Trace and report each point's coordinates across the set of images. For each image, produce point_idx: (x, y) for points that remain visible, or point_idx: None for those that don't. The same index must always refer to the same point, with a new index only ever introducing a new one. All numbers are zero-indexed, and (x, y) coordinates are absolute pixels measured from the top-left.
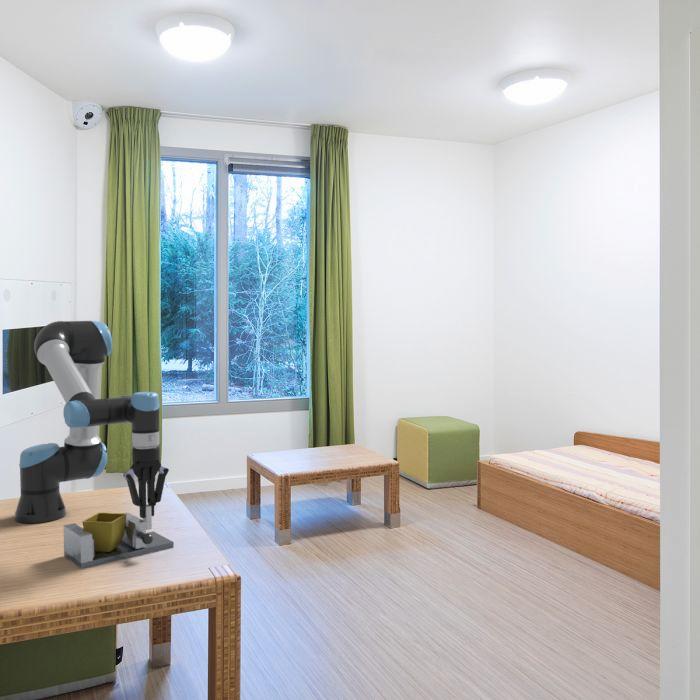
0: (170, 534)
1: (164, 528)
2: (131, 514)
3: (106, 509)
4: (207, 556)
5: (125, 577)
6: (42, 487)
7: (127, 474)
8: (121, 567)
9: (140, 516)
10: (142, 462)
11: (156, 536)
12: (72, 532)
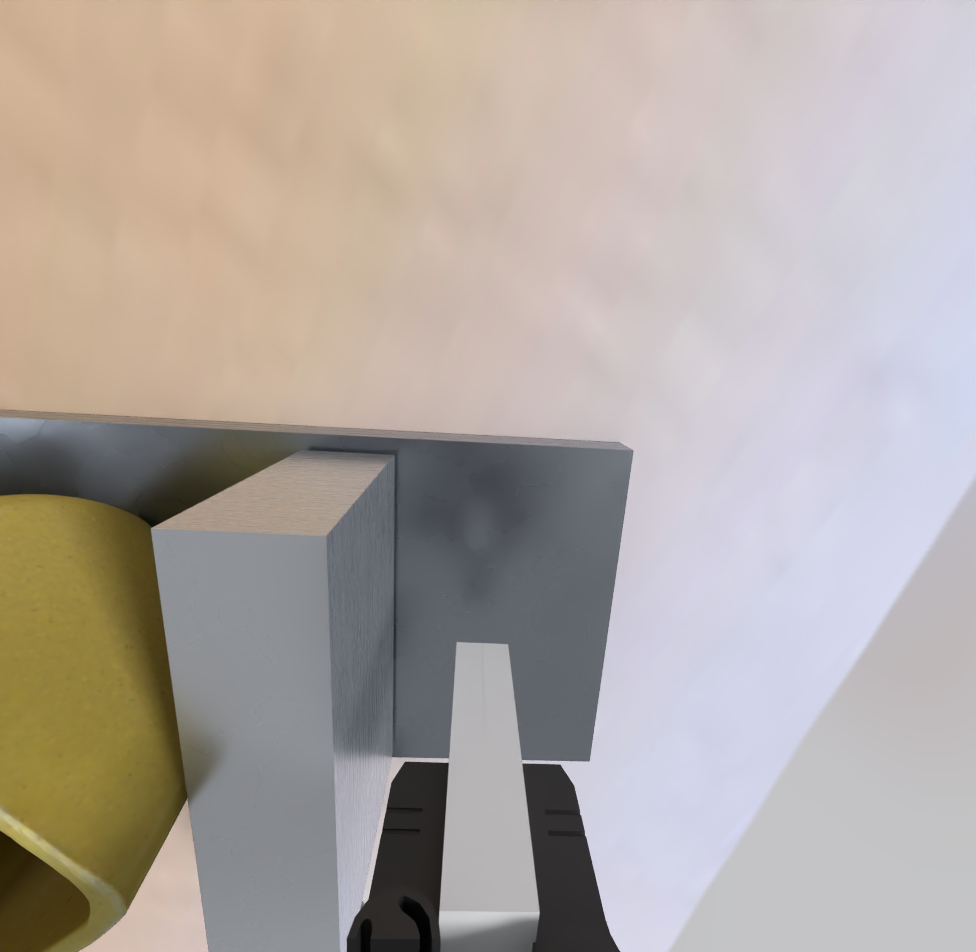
0: (734, 488)
1: (809, 304)
2: (326, 664)
3: None
4: (620, 940)
5: (160, 939)
6: None
7: None
8: (187, 824)
9: (396, 789)
10: None
11: (574, 586)
12: None
